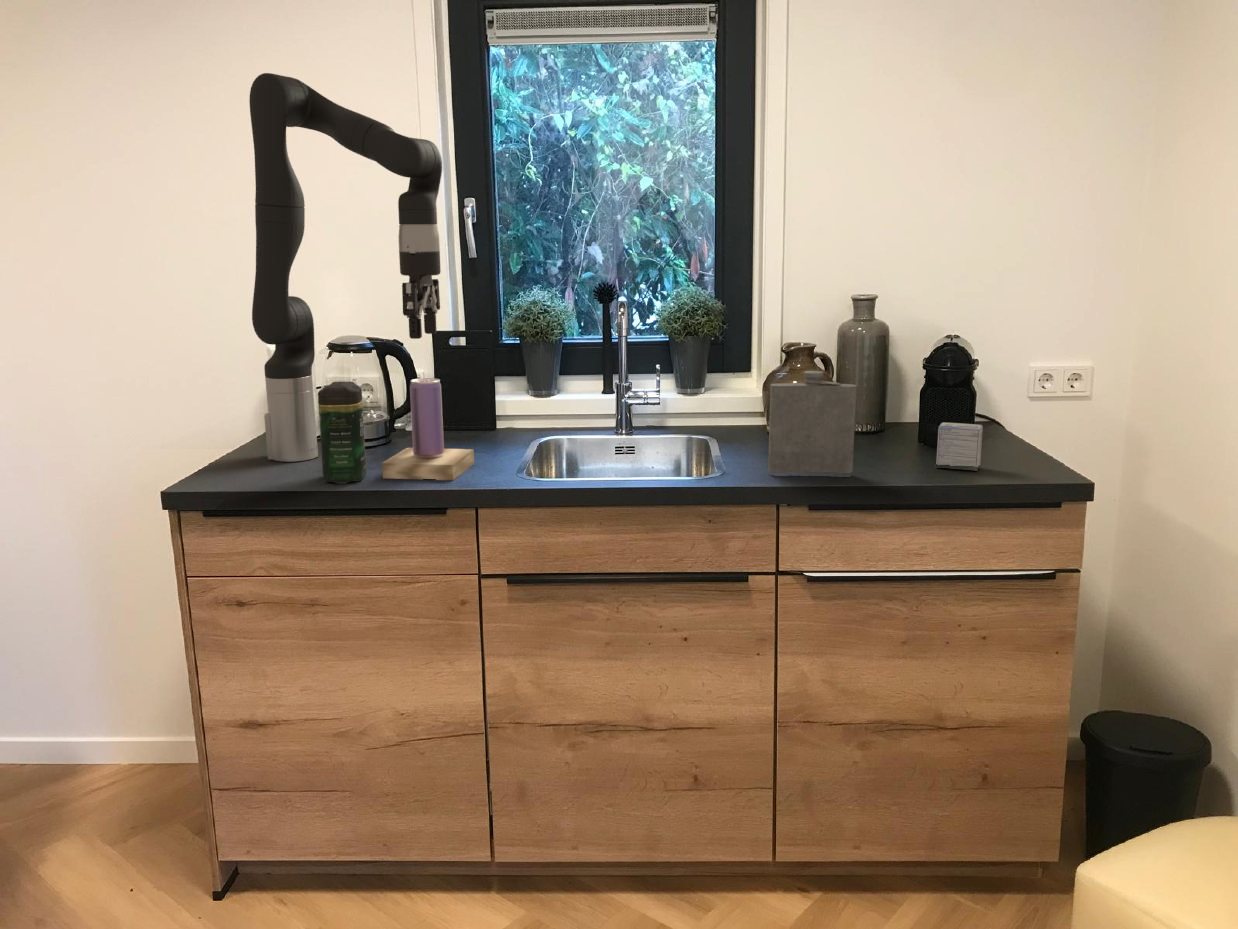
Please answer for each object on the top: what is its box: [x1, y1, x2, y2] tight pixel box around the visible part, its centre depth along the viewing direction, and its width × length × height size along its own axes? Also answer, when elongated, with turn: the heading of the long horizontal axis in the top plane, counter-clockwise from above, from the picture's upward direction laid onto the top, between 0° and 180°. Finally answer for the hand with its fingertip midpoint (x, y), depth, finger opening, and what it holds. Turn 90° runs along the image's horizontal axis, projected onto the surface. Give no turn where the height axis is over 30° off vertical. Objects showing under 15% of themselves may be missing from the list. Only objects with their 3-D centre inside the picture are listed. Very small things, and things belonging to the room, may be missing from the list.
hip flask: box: [767, 370, 857, 473], centre depth 194 cm, size 16×4×20 cm, turn 84°
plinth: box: [381, 447, 475, 481], centre depth 200 cm, size 14×14×3 cm
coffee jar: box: [317, 381, 367, 484], centre depth 193 cm, size 10×8×19 cm
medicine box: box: [935, 421, 984, 467], centre depth 199 cm, size 8×4×9 cm, turn 65°
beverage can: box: [409, 377, 445, 459], centre depth 198 cm, size 6×6×15 cm
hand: (423, 335), depth 195 cm, fingers open, 8 cm apart
